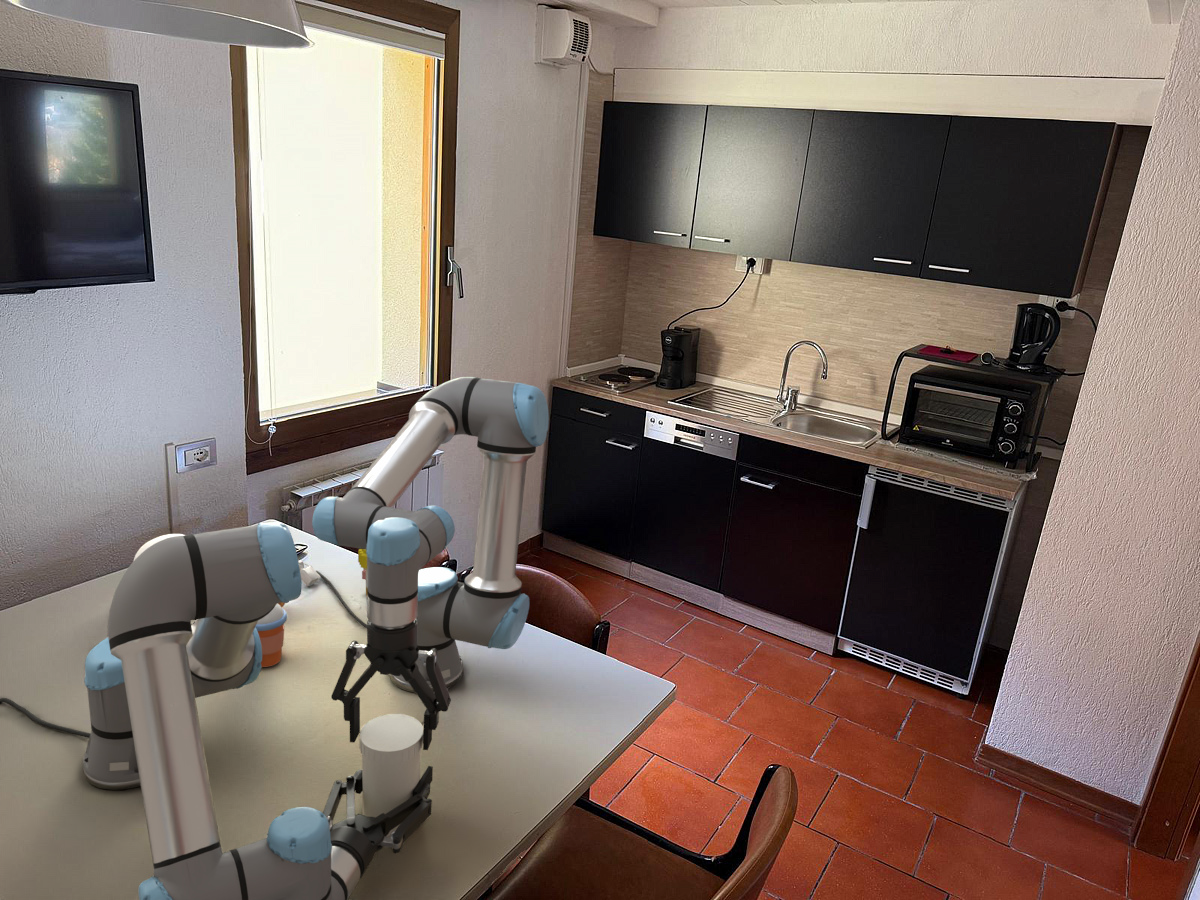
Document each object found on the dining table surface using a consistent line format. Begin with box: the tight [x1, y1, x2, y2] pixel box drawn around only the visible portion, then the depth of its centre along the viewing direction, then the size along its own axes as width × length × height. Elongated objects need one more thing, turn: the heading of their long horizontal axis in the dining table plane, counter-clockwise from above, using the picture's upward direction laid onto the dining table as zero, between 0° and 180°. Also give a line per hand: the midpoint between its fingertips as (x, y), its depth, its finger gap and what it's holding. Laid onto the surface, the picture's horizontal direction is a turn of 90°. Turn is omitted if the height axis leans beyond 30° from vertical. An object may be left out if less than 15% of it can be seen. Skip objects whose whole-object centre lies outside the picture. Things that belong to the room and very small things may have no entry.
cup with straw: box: [255, 603, 288, 668], centre depth 180 cm, size 9×9×18 cm
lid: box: [358, 713, 424, 764], centre depth 137 cm, size 10×10×2 cm
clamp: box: [298, 559, 321, 587], centre depth 219 cm, size 20×4×7 cm, turn 62°
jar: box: [361, 749, 422, 837], centre depth 139 cm, size 9×9×16 cm
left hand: (402, 767), depth 144 cm, fingers closed on jar, 9 cm apart
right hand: (391, 741), depth 137 cm, fingers open, 11 cm apart
